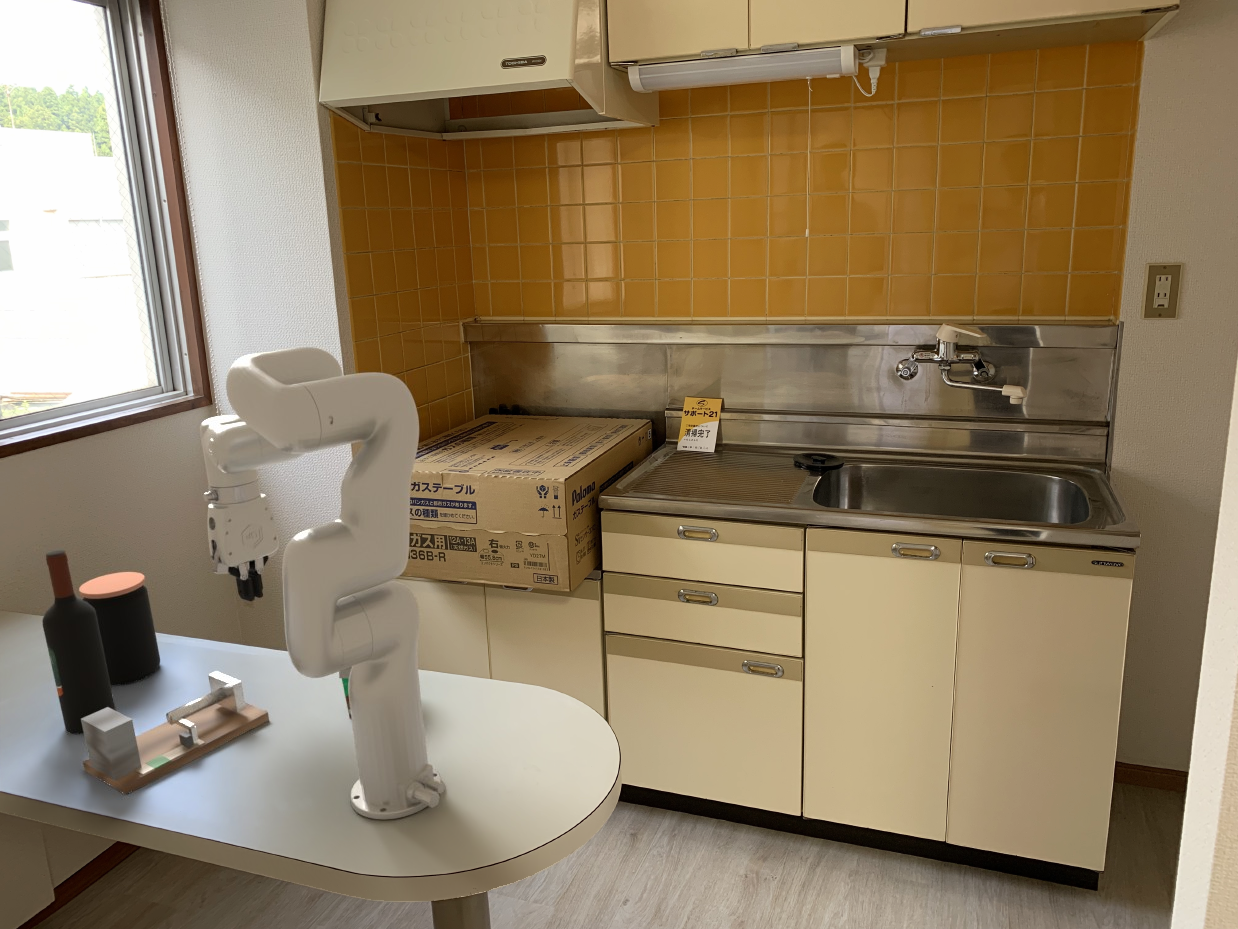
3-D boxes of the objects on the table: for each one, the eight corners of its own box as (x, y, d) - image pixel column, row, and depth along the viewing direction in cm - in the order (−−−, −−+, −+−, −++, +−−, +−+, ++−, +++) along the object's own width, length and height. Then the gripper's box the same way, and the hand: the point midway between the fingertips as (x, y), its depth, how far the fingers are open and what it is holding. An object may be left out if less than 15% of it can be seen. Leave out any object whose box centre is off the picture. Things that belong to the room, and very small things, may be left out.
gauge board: (269, 720, 155) (260, 668, 153) (125, 795, 136) (113, 736, 134) (226, 701, 162) (218, 651, 159) (84, 770, 143) (72, 714, 141)
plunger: (251, 712, 153) (246, 683, 152) (190, 743, 145) (184, 712, 144) (221, 699, 158) (216, 671, 157) (160, 728, 150) (154, 698, 148)
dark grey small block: (194, 745, 145) (192, 734, 144) (188, 748, 144) (186, 737, 144) (186, 741, 146) (184, 731, 146) (180, 744, 145) (178, 734, 145)
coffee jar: (104, 666, 178) (85, 576, 173) (165, 656, 181) (149, 568, 176) (91, 691, 168) (72, 598, 163) (157, 680, 171) (139, 588, 166)
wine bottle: (89, 737, 152) (52, 563, 145) (54, 730, 155) (16, 559, 147) (127, 713, 159) (93, 546, 152) (93, 708, 162) (58, 543, 154)
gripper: (205, 508, 144) (223, 619, 149) (289, 483, 156) (304, 586, 161) (177, 501, 148) (196, 609, 153) (262, 477, 160) (277, 578, 165)
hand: (251, 597), depth 157 cm, fingers closed
